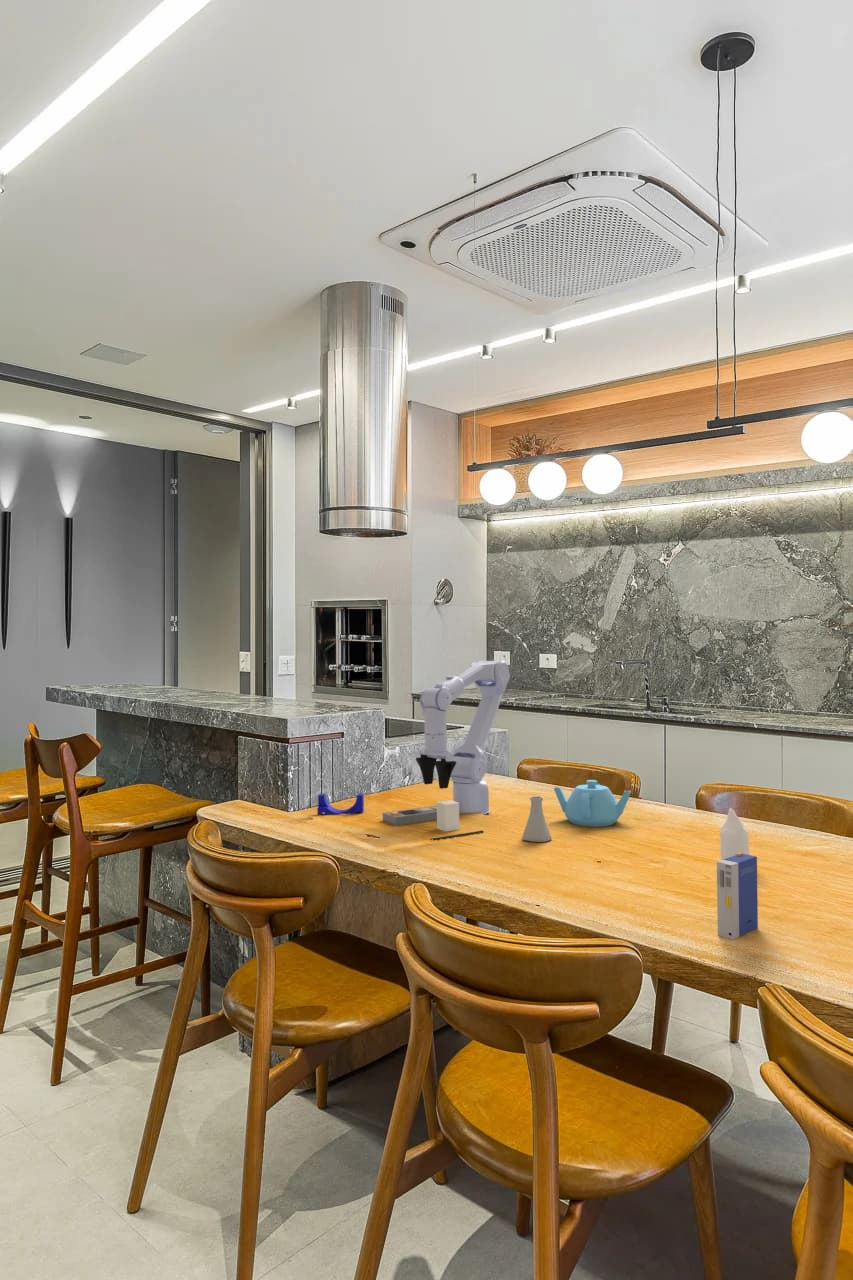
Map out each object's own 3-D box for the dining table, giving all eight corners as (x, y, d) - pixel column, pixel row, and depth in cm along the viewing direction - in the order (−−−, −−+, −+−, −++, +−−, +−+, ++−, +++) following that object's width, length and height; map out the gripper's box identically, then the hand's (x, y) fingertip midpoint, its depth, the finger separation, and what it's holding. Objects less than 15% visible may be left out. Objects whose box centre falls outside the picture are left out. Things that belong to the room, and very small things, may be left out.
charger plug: (450, 828, 204) (450, 800, 204) (459, 831, 200) (459, 802, 200) (437, 830, 202) (436, 801, 202) (445, 833, 198) (445, 804, 198)
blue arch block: (317, 819, 219) (317, 796, 220) (320, 815, 224) (320, 793, 224) (362, 818, 219) (361, 796, 219) (363, 815, 224) (363, 793, 224)
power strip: (441, 816, 221) (441, 803, 221) (455, 820, 215) (455, 807, 215) (382, 824, 211) (382, 811, 211) (395, 829, 205) (395, 815, 205)
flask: (555, 837, 195) (555, 795, 195) (547, 844, 189) (546, 801, 189) (526, 834, 198) (526, 793, 198) (517, 841, 192) (516, 798, 192)
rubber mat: (461, 825, 209) (461, 823, 209) (483, 833, 200) (483, 831, 200) (413, 832, 202) (413, 830, 202) (435, 840, 193) (434, 838, 193)
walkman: (742, 923, 135) (741, 851, 135) (758, 928, 132) (757, 854, 132) (716, 935, 129) (715, 859, 130) (732, 940, 127) (731, 863, 127)
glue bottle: (753, 811, 165) (725, 811, 165) (754, 870, 165) (726, 870, 165) (742, 805, 171) (715, 805, 171) (743, 862, 171) (716, 862, 171)
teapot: (550, 818, 216) (550, 778, 216) (598, 813, 222) (597, 773, 222) (584, 831, 202) (583, 787, 202) (633, 824, 208) (633, 782, 208)
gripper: (408, 732, 217) (408, 783, 217) (437, 737, 205) (437, 791, 205) (431, 730, 221) (431, 781, 221) (460, 735, 209) (461, 788, 209)
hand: (435, 786), depth 213 cm, fingers open, 7 cm apart
